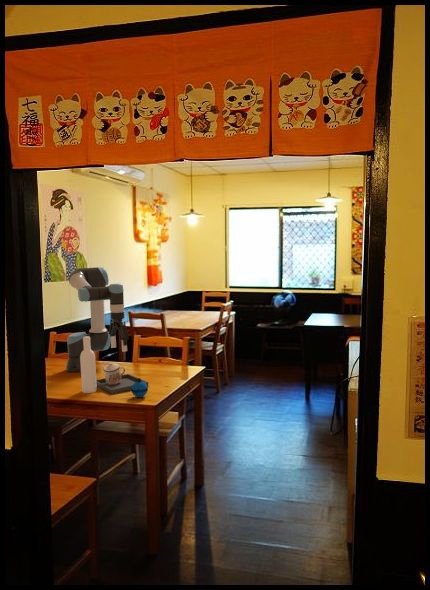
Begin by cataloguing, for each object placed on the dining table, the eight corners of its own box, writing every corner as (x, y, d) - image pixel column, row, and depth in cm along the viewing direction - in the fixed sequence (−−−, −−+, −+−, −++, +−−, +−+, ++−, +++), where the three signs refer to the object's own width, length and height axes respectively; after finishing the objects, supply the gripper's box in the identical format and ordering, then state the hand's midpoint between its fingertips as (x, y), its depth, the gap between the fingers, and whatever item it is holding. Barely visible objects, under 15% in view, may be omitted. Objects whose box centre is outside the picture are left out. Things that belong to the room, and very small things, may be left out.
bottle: (79, 391, 272) (76, 337, 269) (92, 388, 277) (89, 334, 274) (86, 394, 266) (83, 338, 263) (99, 390, 272) (96, 336, 269)
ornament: (150, 395, 262) (149, 376, 261) (144, 400, 254) (143, 380, 253) (135, 394, 264) (134, 375, 263) (128, 399, 256) (127, 380, 255)
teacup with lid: (108, 387, 279) (105, 368, 275) (103, 380, 286) (100, 362, 282) (129, 380, 284) (126, 361, 280) (123, 374, 292) (120, 356, 288)
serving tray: (93, 384, 284) (93, 380, 284) (128, 377, 297) (128, 373, 297) (112, 394, 265) (111, 389, 265) (148, 386, 278) (148, 382, 278)
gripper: (134, 313, 269) (135, 352, 271) (113, 308, 289) (115, 345, 291) (121, 314, 264) (123, 354, 267) (101, 310, 284) (103, 347, 287)
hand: (119, 349), depth 279 cm, fingers open, 13 cm apart
